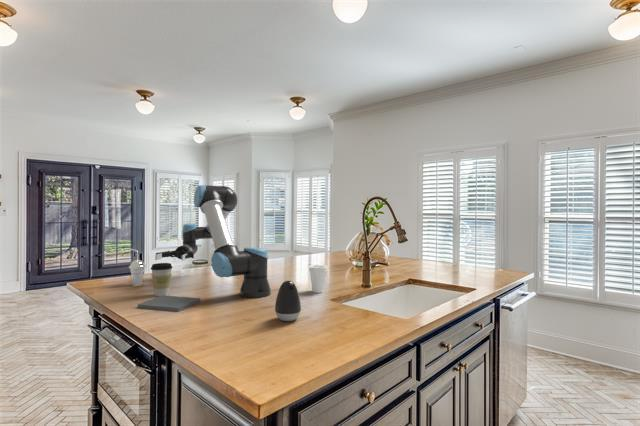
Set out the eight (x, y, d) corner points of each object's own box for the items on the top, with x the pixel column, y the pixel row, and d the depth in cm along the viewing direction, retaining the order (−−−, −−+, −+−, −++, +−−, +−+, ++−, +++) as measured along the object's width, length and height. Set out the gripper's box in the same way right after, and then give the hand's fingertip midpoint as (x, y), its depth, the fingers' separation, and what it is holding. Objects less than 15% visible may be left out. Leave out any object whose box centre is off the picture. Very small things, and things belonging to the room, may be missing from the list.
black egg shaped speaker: (280, 325, 130) (280, 284, 129) (271, 317, 139) (271, 279, 139) (305, 321, 134) (305, 282, 134) (294, 313, 144) (295, 277, 143)
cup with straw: (132, 287, 187) (132, 250, 187) (125, 284, 193) (125, 248, 193) (148, 284, 193) (148, 248, 193) (141, 282, 199) (141, 247, 199)
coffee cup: (167, 297, 167) (167, 266, 167) (146, 297, 168) (146, 265, 167) (175, 292, 177) (175, 262, 177) (156, 292, 177) (156, 262, 177)
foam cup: (330, 290, 184) (330, 266, 183) (321, 294, 176) (321, 268, 176) (315, 288, 189) (315, 264, 188) (305, 291, 181) (305, 266, 181)
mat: (200, 301, 161) (200, 298, 161) (178, 311, 145) (178, 307, 145) (162, 298, 165) (162, 295, 165) (137, 307, 150) (137, 304, 150)
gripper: (205, 258, 204) (193, 265, 183) (161, 258, 203) (144, 264, 182) (205, 245, 204) (193, 250, 183) (161, 245, 203) (144, 250, 182)
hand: (169, 257), depth 182 cm, fingers open, 13 cm apart
